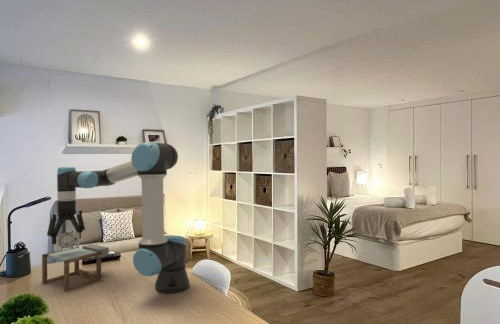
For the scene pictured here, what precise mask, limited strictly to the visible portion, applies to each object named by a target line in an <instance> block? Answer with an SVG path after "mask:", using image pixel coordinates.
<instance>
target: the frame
mask: <svg viewBox="0 0 500 324" xmlns="http://www.w3.org/2000/svg"><path fill="white" fill-rule="evenodd" d="M74 248H80V246H79V247H77V246H73V249H74ZM70 249H72V248H64V249H61V250H59V251H53V252H48V253H43V254H42V255H41V256H42V257H41V275H42V276H41V284H43V285H46V284H50V283H53V282H56V281H60V280H63V292H64V293H68V292H71V291H74V290H77V289H80V288H83V287H85V286H88V285H91V284H94V283H97V282H100V281H102V257H101V252H96V253H92V254H88V255H84V256H80V257H77V258H73V259H69V260H65V261H63V274H62V275H59V276H55V277H52V278H48V258H49V257H48V254H53V253H57V252H61V251H66V250H70ZM94 256H96V257H94ZM90 258H96V259H95V261H96V266H95V269H96V273H95V272H92V271H88V270H85V269H81V268H80V261H82V260H86V259H90ZM72 263H74V268H73V269H74V271H72V272H70V264H72ZM73 276H80V277H83V278H87V279H89V280H86V281H83V282H81V283H78V284H75V285H70V277H73Z"/></svg>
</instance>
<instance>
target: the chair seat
mask: <svg viewBox="0 0 500 324" xmlns="http://www.w3.org/2000/svg"><path fill="white" fill-rule="evenodd" d="M73 248H74V247H73ZM60 251H61V250H60ZM96 252H101V258H105V257H108V256H109V254H110V252H109V246H103V245H98V244H94V243H90V244H85V245H82V248H80V247H79V248H74V249H70V250H66V251H61V252H57V253H53V254H48V257H47V258H50V259H55V260H58V261H62V262H64V261H65V260H69V259H73V258H77V257H80V256H84V255H88V254H92V253H96ZM93 258H96V256H94V257H93Z"/></svg>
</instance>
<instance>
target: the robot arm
mask: <svg viewBox="0 0 500 324" xmlns="http://www.w3.org/2000/svg"><path fill="white" fill-rule="evenodd" d="M130 159H131V160H130V161H127V162H125V163H121V164H118V165H115V166H113V167H110V168H107V169H103V170H82V171H81V170H80V171H78V170H77V169H76V167H74V166H60V167H59V166H58V168H57V173H56V180H57V181H56V182H57V183H56V189H57V190H56V191H57V197H56V198H57V203H56V204H57V207H56V208H57V212H55V213H50V221H49V224H48V229H47V233H46V236H48V237H51V244H52V245H53V252H56V251H60V249H59V247H60V245H59V237H60V236H58V234H59V232H60V229H61V227H62V225H63V224H64V223H65V222H66V221H70V222H71V224H72V227H73V228H74V230H75V232H74V236H75V238H77V239H75V240H77V241H75V242H74V247H79V248H80V239H81V238H82V233H83V231H86V228H85V223H84V219H83V211H82V209H81V210H80V209H78V210H76V207H77V205H76V204H77V202H76V199H77V195H76V192H77V191H76V190H77V189H78V188H81V189H93V188H94V187H95V188H97V187H109V186H110V187H111V186H113V185H115V184H116V183H118V182H121V181H125V180H127V179H132V178H134V177H135V178H136V177H139V179H141V215H142V216H141V219H142V220H141V221H142V223H141V224H142V225H141V226H142V231H141V232H142V237H141V239H139V240H138V249H137V250H136V251H135V253H134V254H133V257H132V264H133V267H134V268H135V270H136V271H137V272H138V273H139V274H140V275H141V276H143V277H153V276H155V275H157V278H156V280H155V283H154V289H155V291H157V292H159V293H163V294H174V293H180V292H181V293H182V292H183V291H185V290H188V289H189V288H190V278H189V277H188V273H187V269H186V263H187V262H186V259H187V258H186V257H187V256H186V248H187V247H186V245H187V244H186V238H185V237H184V236H182V235H170V234H169V235H165V223H164V222H165V214H164V213H165V212H164V210H165V209H164V208H165V207H164V204H165V203H164V179H165V177H166V176H167V175H168V172H167V170H170V169H172V168H173V167H175V166H176V165H177V163H178V161H179V156H178V151H177V149H176V148H175V147H174V146H173V145H171V144H169V143H162V142H154V141H153V142H152V141H148V142H146V141H145V142H141V143H139V144H138V145H136V146H135V147H134V149H133V151H132V153H131V158H130ZM75 215H76V217H75ZM57 218H58V219H57ZM188 287H189V288H188Z"/></svg>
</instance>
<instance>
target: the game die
mask: <svg viewBox="0 0 500 324" xmlns="http://www.w3.org/2000/svg"><path fill="white" fill-rule="evenodd" d="M59 232H60V235H59V236H58V237H59V247H60V249H59V251H61V250H64V249H69V248H72V249H73V248H74V246H75V241H77V240H75V239H77V238H75V234H74V233H73V232H74V230H72V231H70V232H62V231H59Z"/></svg>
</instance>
